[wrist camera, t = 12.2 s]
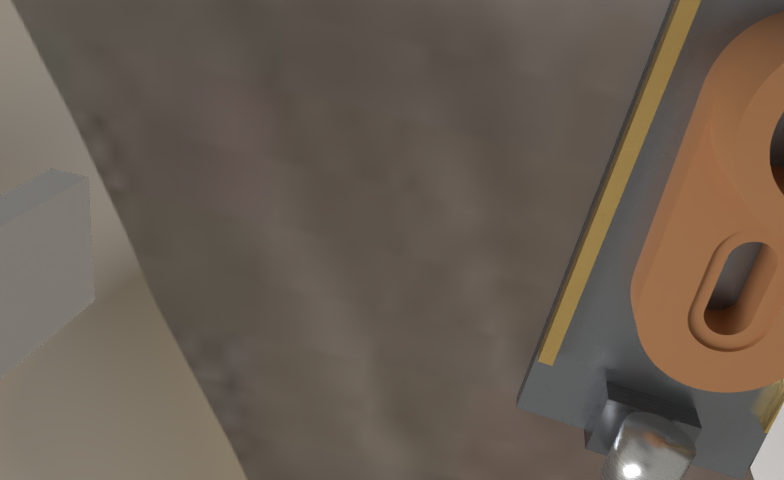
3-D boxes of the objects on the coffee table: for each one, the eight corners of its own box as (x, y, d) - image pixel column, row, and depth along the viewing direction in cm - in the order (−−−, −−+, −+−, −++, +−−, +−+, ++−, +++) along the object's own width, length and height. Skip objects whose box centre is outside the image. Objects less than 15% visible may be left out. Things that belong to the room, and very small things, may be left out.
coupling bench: (730, -152, 29) (775, -174, 23) (1057, -73, 28) (1190, -76, 22) (516, 397, 41) (511, 470, 35) (736, 467, 40) (767, 554, 34)
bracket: (738, -13, 30) (789, 0, 23) (943, 28, 29) (1052, 52, 23) (609, 338, 37) (621, 418, 31) (768, 379, 36) (813, 470, 30)
